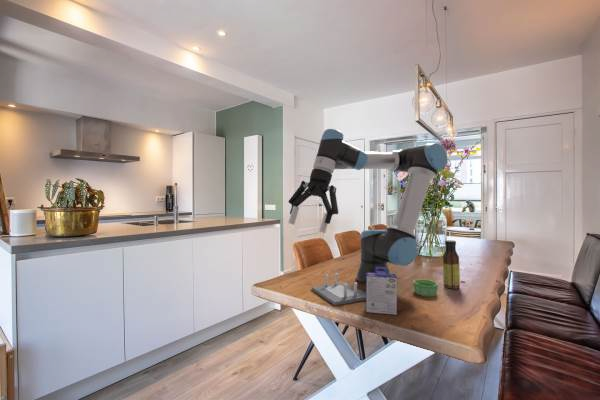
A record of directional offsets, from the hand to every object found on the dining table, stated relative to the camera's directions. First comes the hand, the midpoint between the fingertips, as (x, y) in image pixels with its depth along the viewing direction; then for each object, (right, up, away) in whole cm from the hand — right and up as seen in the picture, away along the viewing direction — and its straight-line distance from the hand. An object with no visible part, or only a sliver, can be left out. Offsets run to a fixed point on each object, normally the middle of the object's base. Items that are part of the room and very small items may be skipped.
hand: (305, 228), depth 100 cm
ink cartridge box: (+25, -27, -5) cm, 38 cm away
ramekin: (+48, -27, +13) cm, 57 cm away
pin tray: (+14, -27, +11) cm, 32 cm away
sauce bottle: (+62, -27, +20) cm, 71 cm away
